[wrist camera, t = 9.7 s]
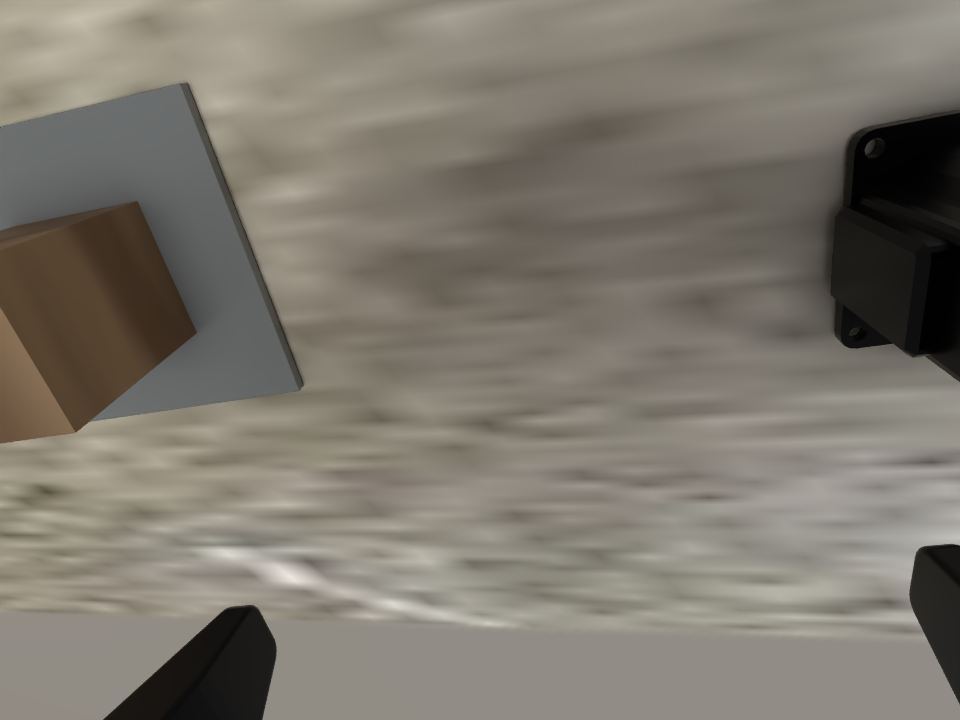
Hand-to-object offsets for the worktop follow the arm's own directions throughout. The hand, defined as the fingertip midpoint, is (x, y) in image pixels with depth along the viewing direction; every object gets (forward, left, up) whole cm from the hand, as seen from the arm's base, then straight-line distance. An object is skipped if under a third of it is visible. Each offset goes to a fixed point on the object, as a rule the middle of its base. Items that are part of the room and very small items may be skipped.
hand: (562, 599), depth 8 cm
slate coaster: (+14, -3, -12) cm, 19 cm away
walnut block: (+14, -3, -12) cm, 18 cm away
